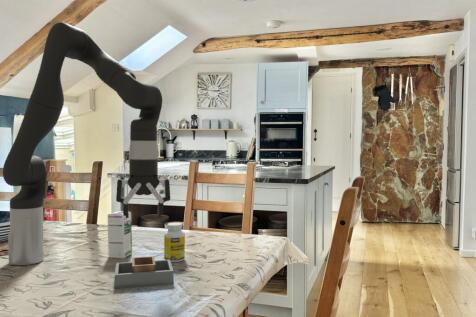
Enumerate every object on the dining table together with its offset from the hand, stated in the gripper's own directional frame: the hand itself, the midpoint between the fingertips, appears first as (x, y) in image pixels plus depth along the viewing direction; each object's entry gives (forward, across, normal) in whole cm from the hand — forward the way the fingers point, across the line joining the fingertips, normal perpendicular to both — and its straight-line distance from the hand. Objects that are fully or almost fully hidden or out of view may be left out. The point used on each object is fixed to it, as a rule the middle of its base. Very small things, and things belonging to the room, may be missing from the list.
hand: (143, 217), depth 113 cm
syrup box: (+18, -7, +26) cm, 32 cm away
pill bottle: (+17, +10, +17) cm, 26 cm away
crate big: (+17, 0, 0) cm, 17 cm away
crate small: (+17, 0, 0) cm, 17 cm away
